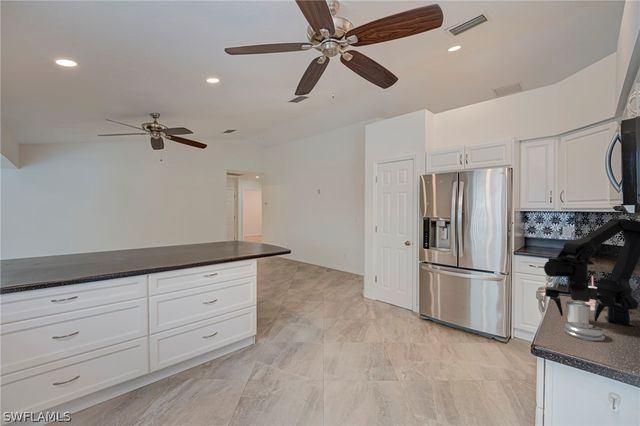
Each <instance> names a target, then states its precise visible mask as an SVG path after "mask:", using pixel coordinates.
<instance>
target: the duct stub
mask: <svg viewBox="0 0 640 426" xmlns="http://www.w3.org/2000/svg"><path fill="white" fill-rule="evenodd" d="M563 333H565V334H567V335H568V336H570V337H573V338H576V339H580V340H583V341H587V342H595V343H596V342H597V343H599V342H604V341H605V340H606V335H605V334H604V333H603V329H602V328H601V327H598V326H596V325H593V324H590V323H589V324H586V323H580V322H569V321H566V322H565V326H564V327H563Z"/></svg>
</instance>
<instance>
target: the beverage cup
mask: <svg viewBox="0 0 640 426" xmlns="http://www.w3.org/2000/svg"><path fill="white" fill-rule="evenodd" d="M588 287H589V288H597V287H596V286H594V275H591V285H588ZM595 301H596V300H592V299H590V301H589V302H584V303H585V304H588V305H590V306H591V308H590V311H595Z"/></svg>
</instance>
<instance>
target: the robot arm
mask: <svg viewBox="0 0 640 426" xmlns="http://www.w3.org/2000/svg"><path fill="white" fill-rule="evenodd" d="M621 232H622V237H623V239H624V243H623V246H622V247H621V249H620V252H619V255H618V256H617V260H616V261H615V264H614V267H613V269H612V270H611V273H610V275H609V276H608V277H606V278H605V277H600V278H599V279H598V283H597V285H596V286H595V287H597V288H589V287H588V286H589V266H592V265H595V263H594V262H593V261H592V260H591V259H590V258H591V257H592V256H593V255H594V254H595V253H596V252H597V248H598V247H599V246H601V245H602V244H604V243H605V242H607V241H609V240H610V239H612V238H613V237H615V236H616V235H618V234H620V233H621ZM639 260H640V220H631V219H628V218H611V219H609V220H608V221H607V222H606V223H605V224H602V225H601V226H600V227H598V228H596V229H595V230H593V231H592V232H590V233H588V234H587V235H585V236H584V237H581V238H576V239H572V240H570V241H567V242H566V243H565V244H564V245H563V248H562V249H561V250H560V252H559V253H558V254H557V256H556V257H555V258H553V257H549V258H548V260H547V261H546V262H545V263H544V266H543V271H544V273H545V274H546V275H547V276H548V277H552V278H554V277H555V278H556V277H558V278H562V277H566V280H567V281H566V283H567V285H566V286H567V290H559V287H554V286H546V287H545V288H544V292H545V293H544V294H545V297H547V298H549V299H550V300H553V301H554V303H555V304H556V306H557V308H558V311H559V313H560V316H561V317H563V316H564V315H563V314H564V313H563V307H562V302H561V298H560V297H561V296H563V297H569V298H570V299H571V301H572V300H573V301H575V302H583V303H585V302H589V301H590V299H592V300H596V301H595V311H594V310H593V311H594V313H593V320H594V321H593V322H597V321H598V319H599V318H600V315H601V313H602V311H603V310H604V309H605V308H607V311H606V313H607V315H604V319H605V320H606V321H607V322H608V323H610V324H611V323H612V324H617V325H623V326H627V327H628V326H629V327H634V324H633V323H632V322H631V311H634V310H637V309H638V308H639V307H638V306H639V302H638V301H637V300H636V299H635V298H633V296H632V295H631V294H632V292H633V291H632V287H631V285H630V280H631V278H632V276H633V273H634V271H635V269H636V266H637V264H638V262H639Z"/></svg>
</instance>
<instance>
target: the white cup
mask: <svg viewBox="0 0 640 426" xmlns="http://www.w3.org/2000/svg"><path fill="white" fill-rule="evenodd" d="M565 308H566V315H567V322H580V323H586V324H590V316H591V310H590V308H591V306H590V305H588V304H585V302H582V301H575V300H573V301H572V300H568V301H567V300H566V301H565Z"/></svg>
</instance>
